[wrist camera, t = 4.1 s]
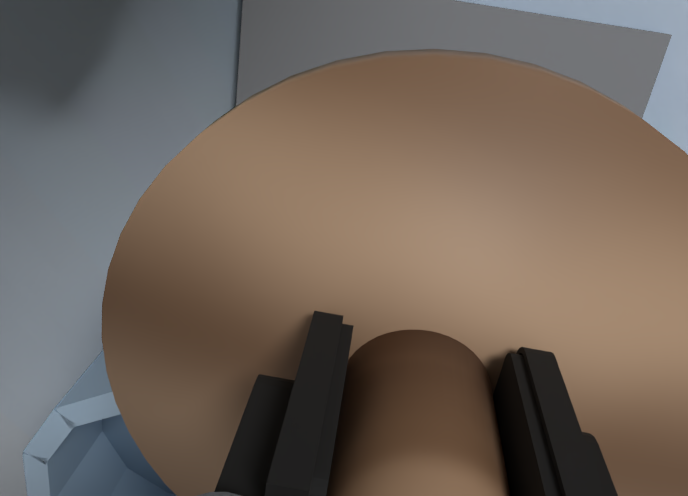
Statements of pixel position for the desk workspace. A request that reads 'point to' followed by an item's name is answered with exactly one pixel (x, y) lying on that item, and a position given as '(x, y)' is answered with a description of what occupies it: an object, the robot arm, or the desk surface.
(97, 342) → the desk surface
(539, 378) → the robot arm
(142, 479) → the bowl
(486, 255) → the lid
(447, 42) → the mat
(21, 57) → the desk surface
